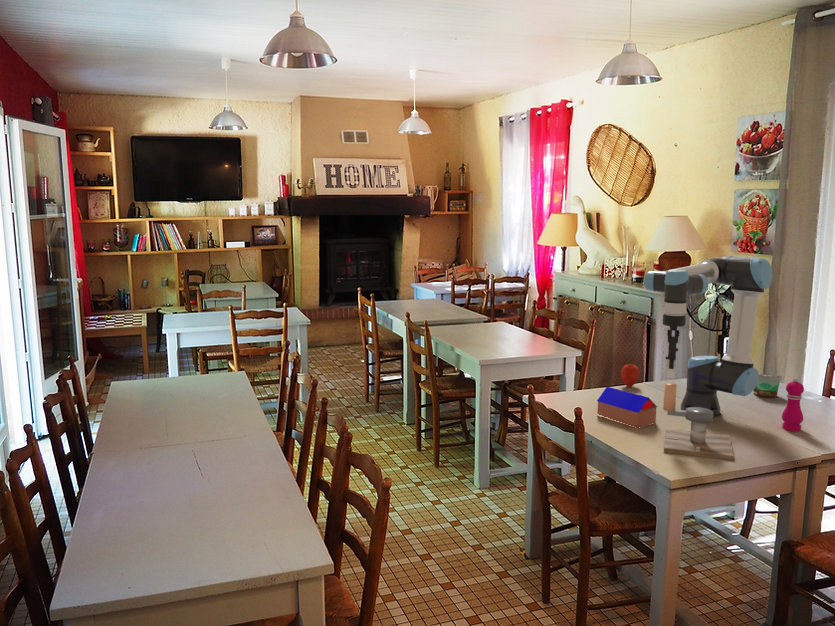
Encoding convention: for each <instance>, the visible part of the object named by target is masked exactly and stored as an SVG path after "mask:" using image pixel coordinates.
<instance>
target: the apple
mask: <svg viewBox="0 0 835 626" xmlns="http://www.w3.org/2000/svg"><path fill="white" fill-rule="evenodd" d="M620 376H621V380H622V381H623V383H624V385H625V386H626V387H627V386H628V387H627V388H631V387H633V386H634V385H635V384H636V383H637V381H638V379H639V378H640V369H639V367H638V366H637V365H636V364H632V363H631V364H630V363H629V364H628V363H627V364H625V365H624V366H623V367H622V368H621V370H620Z"/></svg>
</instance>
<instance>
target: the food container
mask: <svg viewBox="0 0 835 626" xmlns="http://www.w3.org/2000/svg"><path fill="white" fill-rule="evenodd" d="M782 380H783V378H782V374H781V373H780V374H779V375H771V374H759V378H758V382H757V385H756V387H755V389H754V390H753V391H752V392H753V395H754V396H755V395H756V397H758V396H759V397H758V398H763V397H764V398H765V399H775V398H777V397H778V392H779V386H780V382H781V381H782Z"/></svg>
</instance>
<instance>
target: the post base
mask: <svg viewBox="0 0 835 626" xmlns="http://www.w3.org/2000/svg"><path fill="white" fill-rule="evenodd" d="M690 422H691V423H690V430H685V429H684V430H683V429H681V430H680V429H673V428H665V431H664V444H663V452H664V453H667V452H668V453H667V454H669V453H670V454H677V455H685V456H692V457H693V456H695V457H700V458H701V457H702V458H703V457H704V458H712V459H718V460H719V459H721V460H729V461H734V459H735V457H734V451H733V447H732V442H731V437H730V435H729V434H723V433H722V434H719V433H711V432H707V423H697V422H692V421H690Z"/></svg>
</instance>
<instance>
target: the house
mask: <svg viewBox="0 0 835 626" xmlns="http://www.w3.org/2000/svg"><path fill="white" fill-rule="evenodd" d="M596 402H597V414H599V415H602V416H604V417H608V418H610V419H613V420H616V421H619V422H622V423H625V424H628V425H631V426H634V427H636V428H635V429H637V428H638V429H640V428H639V427H642V428H644V427H643V426H645V427H647V426H646V425H648V426H650V425H649V424H651V425H653V424H652V423H654V424H657V423H656V421H657V420H656V419H657V408H658V406H657V405H656V404H655V403H654V402H653V401H652V399H651V398H650V397H649V396H648V397H647V396H644V395H641V394H636V393H632V392H629V391H625V390H621V389H619V388H614V387H609V386H606V387H605V388H604V390H603V392H601V394H600V396H599V397H598V398H597V400H596ZM634 427H633V428H634Z"/></svg>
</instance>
